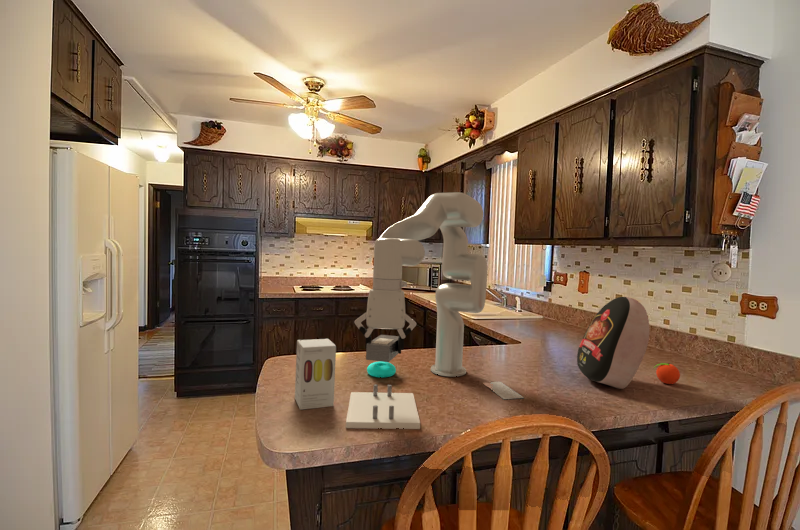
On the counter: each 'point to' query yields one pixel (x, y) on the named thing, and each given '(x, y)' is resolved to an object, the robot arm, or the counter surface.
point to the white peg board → (382, 410)
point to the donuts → (381, 369)
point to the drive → (382, 348)
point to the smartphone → (505, 391)
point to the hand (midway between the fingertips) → (384, 351)
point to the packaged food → (615, 343)
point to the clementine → (667, 373)
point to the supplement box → (315, 373)
